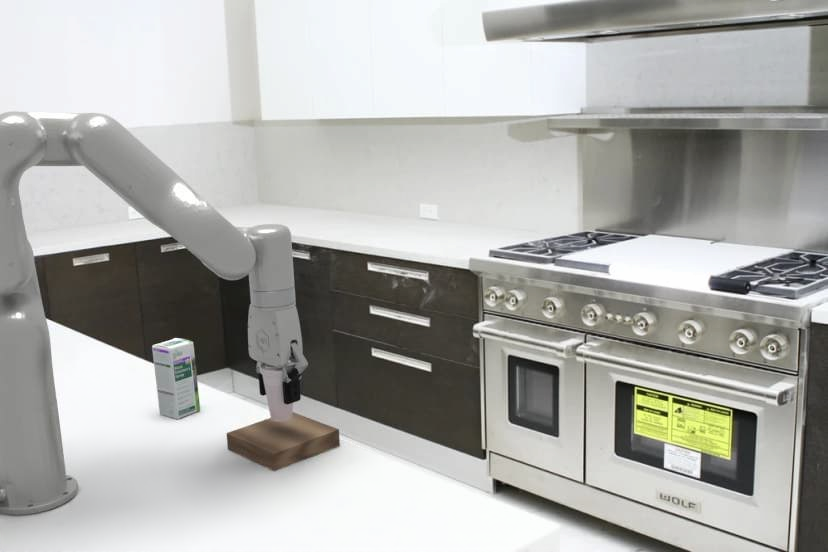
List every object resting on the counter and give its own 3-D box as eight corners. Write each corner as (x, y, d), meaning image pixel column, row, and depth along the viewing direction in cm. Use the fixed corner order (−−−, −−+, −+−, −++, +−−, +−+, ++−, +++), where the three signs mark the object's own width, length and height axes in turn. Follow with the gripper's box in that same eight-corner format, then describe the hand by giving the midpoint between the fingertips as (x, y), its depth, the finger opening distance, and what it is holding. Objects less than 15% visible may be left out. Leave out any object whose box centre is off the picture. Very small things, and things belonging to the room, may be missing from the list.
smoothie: (258, 415, 158) (252, 339, 154) (292, 408, 160) (288, 333, 157) (270, 427, 152) (264, 348, 149) (305, 420, 155) (300, 342, 152)
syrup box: (177, 420, 172) (170, 348, 169) (158, 414, 176) (151, 343, 173) (200, 411, 177) (194, 340, 174) (181, 405, 180) (175, 336, 177)
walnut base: (275, 470, 148) (274, 453, 147) (227, 449, 157) (226, 433, 157) (339, 445, 157) (338, 429, 157) (291, 426, 167) (290, 411, 166)
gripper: (225, 294, 155) (233, 392, 159) (286, 309, 143) (293, 415, 147) (261, 286, 160) (268, 382, 164) (322, 300, 148) (328, 403, 152)
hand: (280, 396), depth 155 cm, fingers closed on smoothie, 6 cm apart
